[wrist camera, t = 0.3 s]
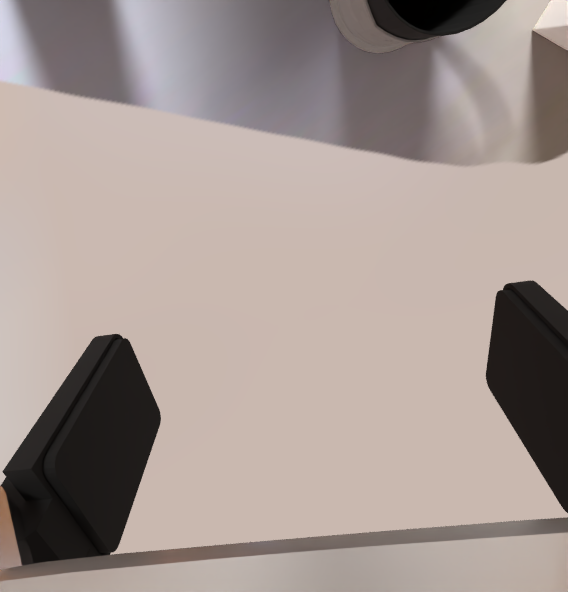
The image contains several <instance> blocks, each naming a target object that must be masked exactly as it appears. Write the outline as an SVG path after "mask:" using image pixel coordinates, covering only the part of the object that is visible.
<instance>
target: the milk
mask: <svg viewBox="0 0 568 592" xmlns="http://www.w3.org/2000/svg"><path fill="white" fill-rule="evenodd" d="M533 31H535V32H536V33H538V34H540V35H541V36H543V37H545V38H547V39H548V40H550V41H552V42H553V43H555V44H557V45H559V46H560V47H562V48H564V49H565V50H567V51H568V0H550V2H549V4H548V5H547V7H546V9H545V10H544V12H543V13H542V15H541V17H540V18H539V20H538V22H537V23H536V25H535V26H534V28H533Z"/></svg>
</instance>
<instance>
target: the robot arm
mask: <svg viewBox="0 0 568 592" xmlns="http://www.w3.org/2000/svg"><path fill="white" fill-rule="evenodd" d="M486 380H487V384H488V387H489V389H490V391H491V392H492V393H493V395H494V397H495V399H496V400H497V402H498V403H499V405H500V407H501V408H502V410H503V411H504V413H505V415H506V416H507V418H508V420H509V421H510V423H511V425H512V426H513V428H514V430H515V431H516V433H517V434H518V436H519V438H520V439H521V441H522V443H523V444H524V446H525V447H526V449H527V451H528V452H529V454H530V456H531V457H532V459H533V461H534V462H535V464H536V465H537V467H538V469H539V470H540V472H541V474H542V475H543V477H544V478H545V480H546V482H547V483H548V485H549V487H550V488H551V490H552V491H553V493H554V495H555V496H556V498H557V500H558V501H559V503H560V504H561V506H562V507H563V509H564V510H565V511H566V512H567V513H568V311H567V310H566V309H565V308H564V307H563V306H562V305H561V304H560V303H558V302H557V301H556V300H555V299H554V298H553V297H551V295H550V294H548V293H547V292H546V291H545V290H544V289H543V288H542V287H541V286H540V285H538V284H537V283H536V282H534V281H524V282H517V283H509V284H506V285H505V286H504V288H503V290H500V291H498V292H497V295H496V301H495V308H494V316H493V324H492V332H491V339H490V347H489V355H488V362H487V370H486ZM160 421H161V417H160V411H159V408H158V406H157V403H156V401H155V399H154V397H153V394H152V392H151V390H150V387H149V385H148V383H147V381H146V378H145V376H144V374H143V371H142V369H141V367H140V364H139V363H138V360H137V358H136V355H135V353H134V351H133V348H132V346H131V344H130V342H129V341H128V339H126V338H125V339H123V338H122V336H120V335H119V334H112V335H104V336H98V337H95V338H94V339H93V340H92V341H91V343H90V344H89V346H88V347H87V348H86V350H85V352H84V353H83V354H82V356H81V357H80V359H79V360H78V362H77V363H76V365H75V366H74V368H73V369H72V370H71V372H70V374H69V375H68V376H67V378H66V379H65V381H64V382H63V384H62V385H61V387H60V388H59V390H58V391H57V392H56V394H55V396H54V397H53V399H52V400H51V401H50V403H49V404H48V406H47V407H46V409H45V410H44V412H43V413H42V415H41V416H40V417H39V419H38V420H37V422H36V423H35V425H34V426H33V428H32V429H31V431H30V432H29V434H28V435H27V437H26V438H25V439H24V441H23V442H22V444H21V445H20V447H19V448H18V450H17V451H16V453H15V454H14V456H13V457H12V459H11V460H10V461H9V463H8V464H7V466H6V467H5V469H4V470H3V473H4V474H5V476H6V478H5V480H4V482H3V483H2V485H1V486H0V592H568V518H556V519H555V518H554V519H538V520H524V521H509V522H496V523H485V524H472V525H458V526H445V527H432V528H419V529H406V530H393V531H381V532H369V533H358V534H345V535H332V536H321V537H308V538H296V539H286V540H273V541H260V542H249V543H238V544H226V545H214V546H203V547H192V548H180V549H169V550H159V551H148V552H136V553H124V554H114V555H110V553H111V552H114V551H115V550H116V549H117V548H118V545H119V543H120V540H121V537H122V534H123V531H124V528H125V525H126V522H127V520H128V517H129V514H130V511H131V508H132V505H133V502H134V499H135V496H136V493H137V490H138V487H139V484H140V482H141V479H142V476H143V472H144V470H145V467H146V464H147V460H148V458H149V455H150V452H151V449H152V446H153V443H154V440H155V437H156V434H157V432H158V429H159V426H160Z"/></svg>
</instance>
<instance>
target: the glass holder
mask: <svg viewBox="0 0 568 592" xmlns="http://www.w3.org/2000/svg"><path fill="white" fill-rule="evenodd" d="M505 1H506V0H329V3H330V7H331V12H332V15H333V18H334V21H335V23H336V25H337V27H338V29H339V30H340V32H341V34H342V35H343V36H344V37H345V38H346V39H347V40H348V41H349V42H350V43H351V44H353V45H354V46H355V47H357V48H359V49H361V50H363V51H367V52H371V53H385V52H391V51H394V50H397V49H399V48H401V47H403V46H405V45H407V44H410V43H418V42H424V41H429V40H432V39H434V38H437V37H439V36H445V35H451V34H457V33H460V32H462V31H465V30H468V29H471V28H472V27H474V26H476V25H478V24H479V23H481V22H483V21H484V20H486V19H487V18H488V17H489V16H491V15H492V14H493V13H494V12H496V11H497V10H498V9H499V8H500V7H501V6H502V4H503V3H504V2H505Z"/></svg>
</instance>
